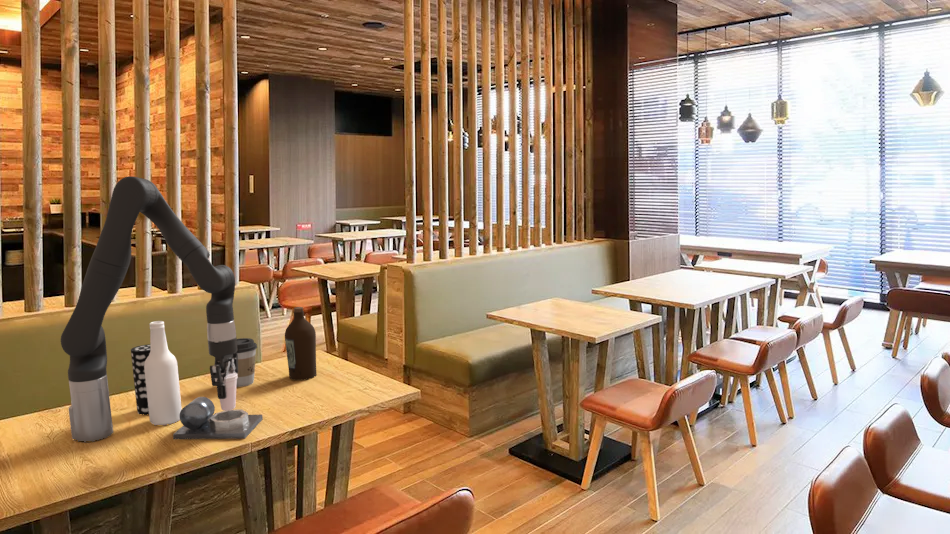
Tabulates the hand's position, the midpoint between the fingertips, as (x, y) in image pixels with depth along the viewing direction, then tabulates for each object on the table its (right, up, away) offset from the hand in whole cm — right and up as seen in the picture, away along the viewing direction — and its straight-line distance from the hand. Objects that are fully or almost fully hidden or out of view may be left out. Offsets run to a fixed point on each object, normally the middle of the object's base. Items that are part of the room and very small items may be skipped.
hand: (227, 394), depth 187 cm
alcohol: (-21, -10, +9) cm, 25 cm away
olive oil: (+9, -3, +49) cm, 50 cm away
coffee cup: (-10, -5, +42) cm, 44 cm away
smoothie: (0, -4, +1) cm, 4 cm away
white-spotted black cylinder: (-30, -9, +18) cm, 36 cm away
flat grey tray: (-3, -10, +2) cm, 11 cm away
